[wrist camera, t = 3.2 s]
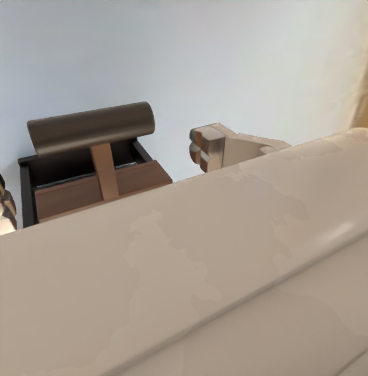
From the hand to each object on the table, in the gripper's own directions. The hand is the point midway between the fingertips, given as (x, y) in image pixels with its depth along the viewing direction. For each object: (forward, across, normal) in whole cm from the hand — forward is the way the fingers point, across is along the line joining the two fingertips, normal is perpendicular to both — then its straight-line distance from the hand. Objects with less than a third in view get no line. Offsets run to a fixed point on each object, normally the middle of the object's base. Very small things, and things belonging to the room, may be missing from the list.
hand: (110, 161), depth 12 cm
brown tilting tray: (+6, 0, +6) cm, 9 cm away
